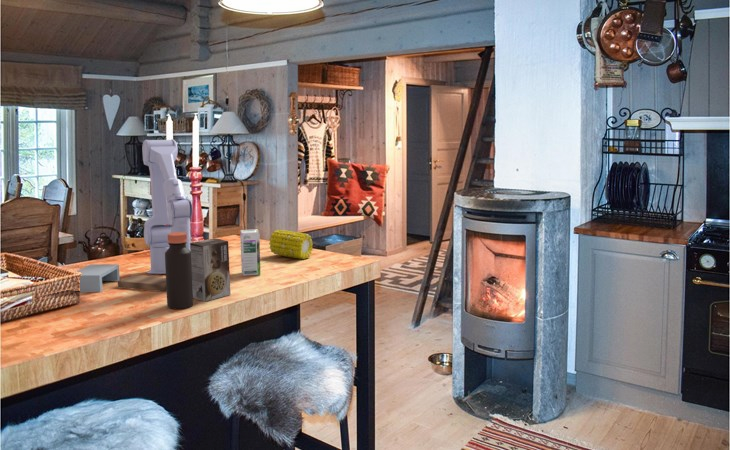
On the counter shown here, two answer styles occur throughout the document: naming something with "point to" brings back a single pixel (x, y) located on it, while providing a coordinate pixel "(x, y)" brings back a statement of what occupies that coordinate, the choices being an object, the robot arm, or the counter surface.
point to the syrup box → (250, 252)
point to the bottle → (178, 272)
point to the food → (291, 244)
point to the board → (143, 283)
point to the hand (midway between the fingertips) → (182, 283)
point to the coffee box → (210, 269)
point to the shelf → (97, 276)
